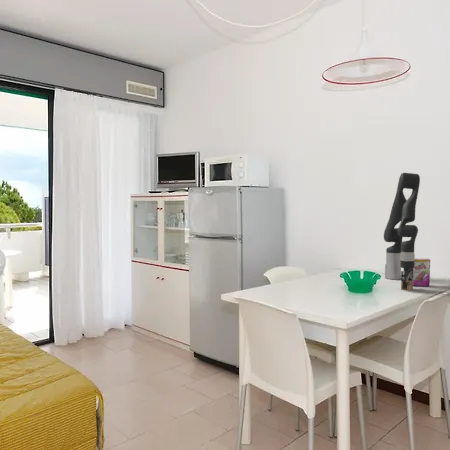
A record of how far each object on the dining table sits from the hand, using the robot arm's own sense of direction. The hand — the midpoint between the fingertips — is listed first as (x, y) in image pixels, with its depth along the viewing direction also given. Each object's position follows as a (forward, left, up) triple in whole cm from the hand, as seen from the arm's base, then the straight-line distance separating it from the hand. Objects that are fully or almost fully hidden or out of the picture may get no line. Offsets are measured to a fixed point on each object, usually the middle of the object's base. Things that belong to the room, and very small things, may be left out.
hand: (407, 287), depth 242 cm
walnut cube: (0, 0, -1) cm, 1 cm away
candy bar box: (+2, +16, -1) cm, 16 cm away
